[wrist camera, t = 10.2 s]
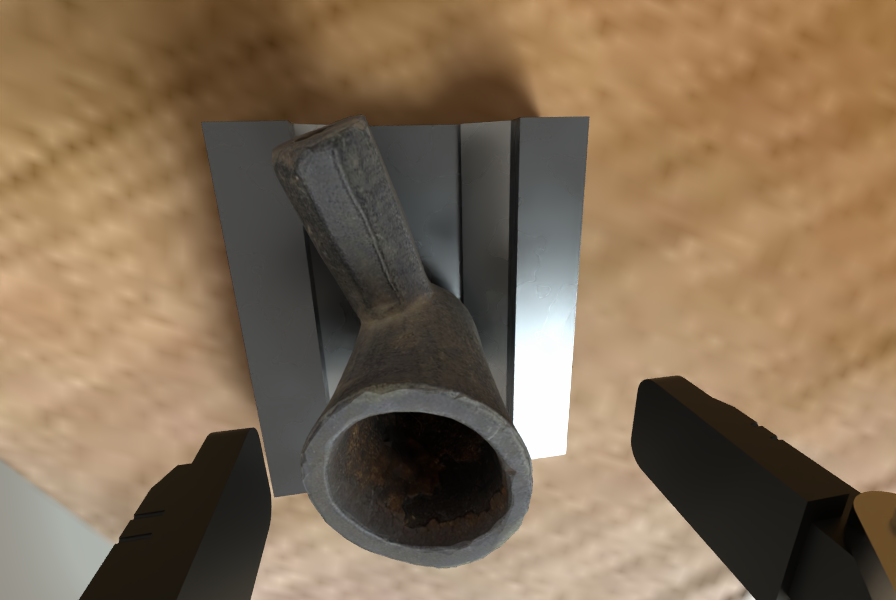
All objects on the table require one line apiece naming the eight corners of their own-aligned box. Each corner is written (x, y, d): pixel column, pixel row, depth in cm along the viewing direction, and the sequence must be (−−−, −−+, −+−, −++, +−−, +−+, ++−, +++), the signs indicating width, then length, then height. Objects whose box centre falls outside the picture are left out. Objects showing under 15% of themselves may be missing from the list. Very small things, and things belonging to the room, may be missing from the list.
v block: (239, 131, 16) (201, 121, 13) (544, 126, 18) (589, 116, 15) (291, 437, 21) (274, 497, 17) (533, 406, 23) (565, 453, 19)
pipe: (408, 91, 14) (399, 100, 7) (510, 379, 20) (562, 545, 13) (244, 157, 15) (80, 226, 8) (389, 418, 20) (374, 597, 13)
